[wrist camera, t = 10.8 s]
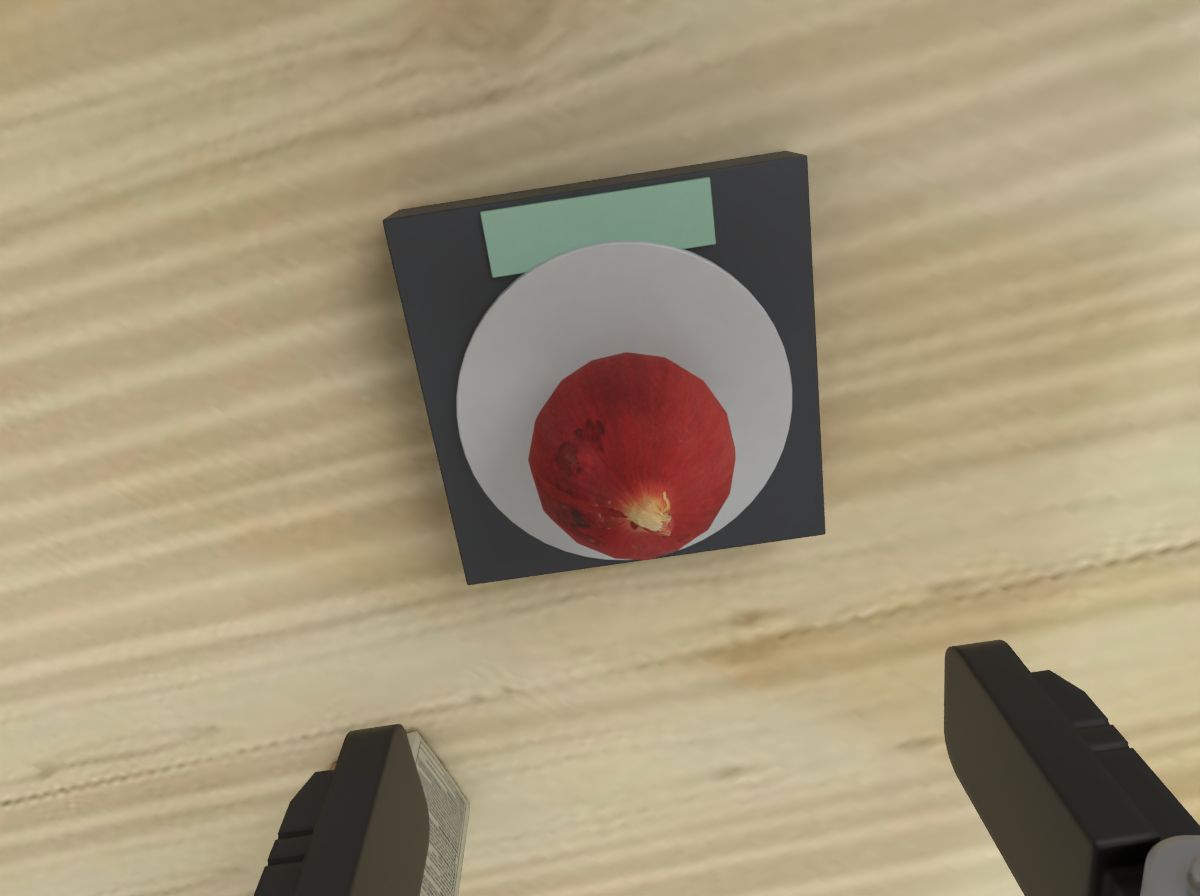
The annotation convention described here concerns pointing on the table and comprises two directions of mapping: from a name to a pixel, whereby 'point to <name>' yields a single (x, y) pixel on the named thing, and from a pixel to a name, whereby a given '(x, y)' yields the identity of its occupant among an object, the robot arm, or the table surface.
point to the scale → (615, 338)
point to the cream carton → (440, 822)
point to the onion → (632, 456)
